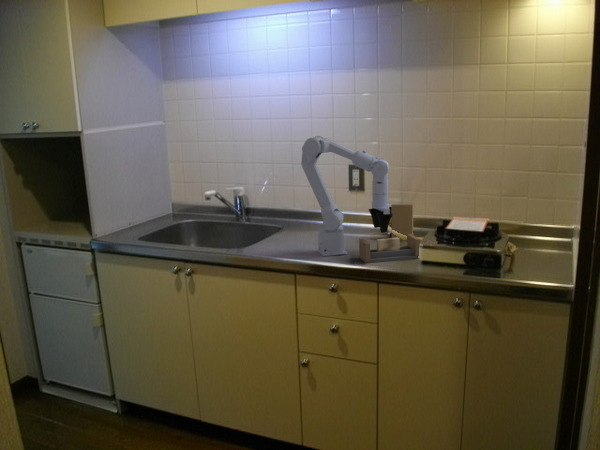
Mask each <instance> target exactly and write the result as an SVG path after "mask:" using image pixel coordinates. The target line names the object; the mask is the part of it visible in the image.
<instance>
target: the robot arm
mask: <svg viewBox="0 0 600 450" xmlns="http://www.w3.org/2000/svg"><path fill="white" fill-rule="evenodd" d="M301 151H302V152H301V153H302V154H301V164H300V165H301V167H302V169H303V172H304V174H305V176H306V178H307V181H308V183H309V186H310V187H311V190H312V191H313V194H314V196H315V198H316V201H317V203H318V205H319V207H320V212H321V213H320V215H321V218H322V224H323V227H324V229H323V230H319V231H318V233H317V241H318V243H317V245H318V246H317V247H318V251H317V252H318V253H320V255H321V256H322V257H330V256H339V255H347V254H348V251H346V250H345V244H344V243H345V240H344V239H345V236H344V234H345V233H344V226H343V223H344V222H345V215H344V213H343V212H342V211H341V210H340V209H339V208H338V205H336V203H335V202H334V201H333V199H332V197H331V194H330V191H329V189H328V188H327V186H326V183H325V181H324V179H323V176H322V174H321V172H320V171H319V168H318V166H317V163H318V161H319V158H320V156H321V155H322V154H325V153H333V154H336V155H338V156H341V157H343V158H345V159H348V160H351V161H352V162H351V163H352V164H353V166H355V167H357V168H359V169H362V170H364V171H366V172H370V173H371V174H372V193H371V194H372V199H371V200H372V201H371V208H368V212H369V213H370V216H371V219H372V220H371V221H372V224H373V227H374V229H379V231H380V233H388V229H389V225H390V222H391V218H392V216H393V214H392V213H391V210H390V208H391V205H392V204H391V203H389V173H388V172H389V171H390V164H389V163H388V161H387V160H386V159H385V158H379V156H374V155H372V154H369V153H367V152H368V151H367V150H365V149H364V150H360V149H359V150H357V151H354V150H352V149H350V148H348V147H346V146H344V145H342V144H340V143H337V142H335V141H334V140H331V139H329V138H325V137H322V136H321V135H316V136H313V137H309V138H307V139H306V140H305V141H304V143H303V146H301Z"/></svg>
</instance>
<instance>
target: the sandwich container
mask: <svg viewBox="0 0 600 450" xmlns="http://www.w3.org/2000/svg"><path fill="white" fill-rule="evenodd" d="M390 208H391V210H390V213H392V214H393V216H392V218H391V219H390V222H391V231H392V230H395V231H397V232H398V233H401V234H403V235H406V236H407V234H412V235H413V236H414V233H413V231H414V213H413V212H414V205H413V204H411V203H410V204H409V203H399V204H397V203H396V204H391V207H390ZM391 238H397V236H396V235H394V234H393V233H392V232H391ZM398 238H399V237H398ZM399 239H400V242H401V241H403V242H404V241H405V240H403V239H401V238H399Z"/></svg>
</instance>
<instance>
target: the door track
mask: <svg viewBox="0 0 600 450" xmlns="http://www.w3.org/2000/svg"><path fill="white" fill-rule="evenodd" d="M358 240H359V241H358V243H359V244H358V245H359V246H358V247H359V248H358V249H359V251H358V252H359V254H358V255H359V256H358V257H359V259H361V260H362V261H363V262H364V263H365V264H371V263H381V262H383V263H384V262H385V263H386V262H395V261H403V260H404V261H405V260H414V259H419V258H418V256H419V244H420V245H421V239H420V238H419V237H417V236H415V235H414V234H413V235H412V234H407V242H406V245H405V246H400V250H393V251H383V252H377V248H374V249H372V248H371V242H369V241H367V240H366V239H365V238H359V239H358Z"/></svg>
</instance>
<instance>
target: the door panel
mask: <svg viewBox="0 0 600 450" xmlns="http://www.w3.org/2000/svg"><path fill="white" fill-rule="evenodd" d="M400 247H401V241H400V239H399V238H398V237H397V238H392V237H388V238H378V239H376V249H377V252H383V251H393V250H400Z"/></svg>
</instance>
